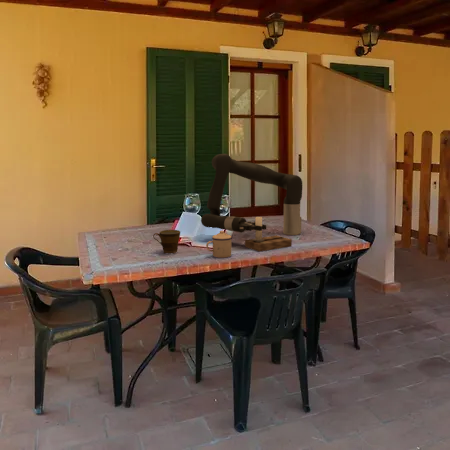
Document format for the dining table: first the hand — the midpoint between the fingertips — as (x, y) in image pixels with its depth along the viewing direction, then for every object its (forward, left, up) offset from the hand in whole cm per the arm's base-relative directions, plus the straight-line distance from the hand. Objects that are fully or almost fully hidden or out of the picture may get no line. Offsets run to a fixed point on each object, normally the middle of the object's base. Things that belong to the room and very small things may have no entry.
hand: (263, 227), depth 225 cm
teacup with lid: (+25, -1, -11) cm, 27 cm away
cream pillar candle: (+1, -3, -9) cm, 10 cm away
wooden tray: (-5, -3, -11) cm, 12 cm away
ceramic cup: (+42, -21, -11) cm, 48 cm away
